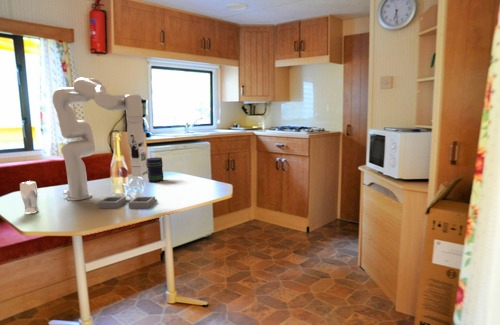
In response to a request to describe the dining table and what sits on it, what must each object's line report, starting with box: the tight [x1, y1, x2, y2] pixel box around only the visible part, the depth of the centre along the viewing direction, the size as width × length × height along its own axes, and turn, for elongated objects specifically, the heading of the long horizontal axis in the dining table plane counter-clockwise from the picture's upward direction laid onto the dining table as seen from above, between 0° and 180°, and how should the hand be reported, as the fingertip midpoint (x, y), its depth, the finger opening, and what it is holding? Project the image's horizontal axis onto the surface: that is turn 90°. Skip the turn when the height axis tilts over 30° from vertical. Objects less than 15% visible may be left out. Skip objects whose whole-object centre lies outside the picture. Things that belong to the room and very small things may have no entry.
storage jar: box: [146, 157, 164, 184], centre depth 232 cm, size 10×10×15 cm
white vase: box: [19, 180, 40, 213], centre depth 172 cm, size 7×7×15 cm
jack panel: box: [97, 196, 158, 209], centre depth 182 cm, size 26×12×3 cm, turn 85°
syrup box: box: [128, 145, 148, 177], centre depth 176 cm, size 6×6×14 cm
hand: (138, 156), depth 176 cm, fingers closed on syrup box, 6 cm apart
